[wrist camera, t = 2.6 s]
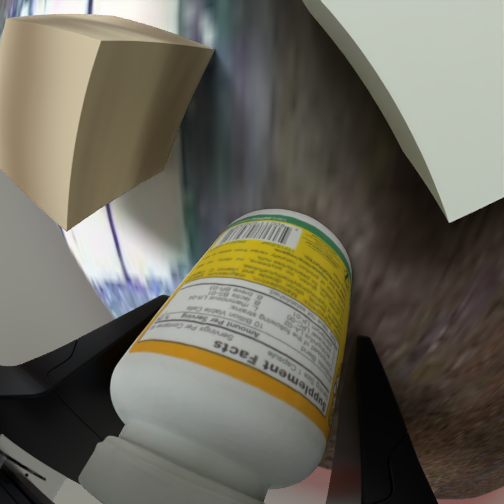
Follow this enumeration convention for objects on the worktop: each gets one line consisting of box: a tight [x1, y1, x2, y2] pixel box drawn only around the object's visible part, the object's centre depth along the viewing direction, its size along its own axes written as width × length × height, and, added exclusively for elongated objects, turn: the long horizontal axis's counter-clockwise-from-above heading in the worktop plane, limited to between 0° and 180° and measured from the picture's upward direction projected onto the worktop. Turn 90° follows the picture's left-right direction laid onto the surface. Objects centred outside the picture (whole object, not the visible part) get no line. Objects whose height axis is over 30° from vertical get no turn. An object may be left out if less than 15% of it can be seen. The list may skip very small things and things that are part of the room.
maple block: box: [0, 14, 215, 232], centre depth 7 cm, size 5×5×5 cm
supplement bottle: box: [78, 209, 352, 504], centre depth 7 cm, size 5×5×10 cm
